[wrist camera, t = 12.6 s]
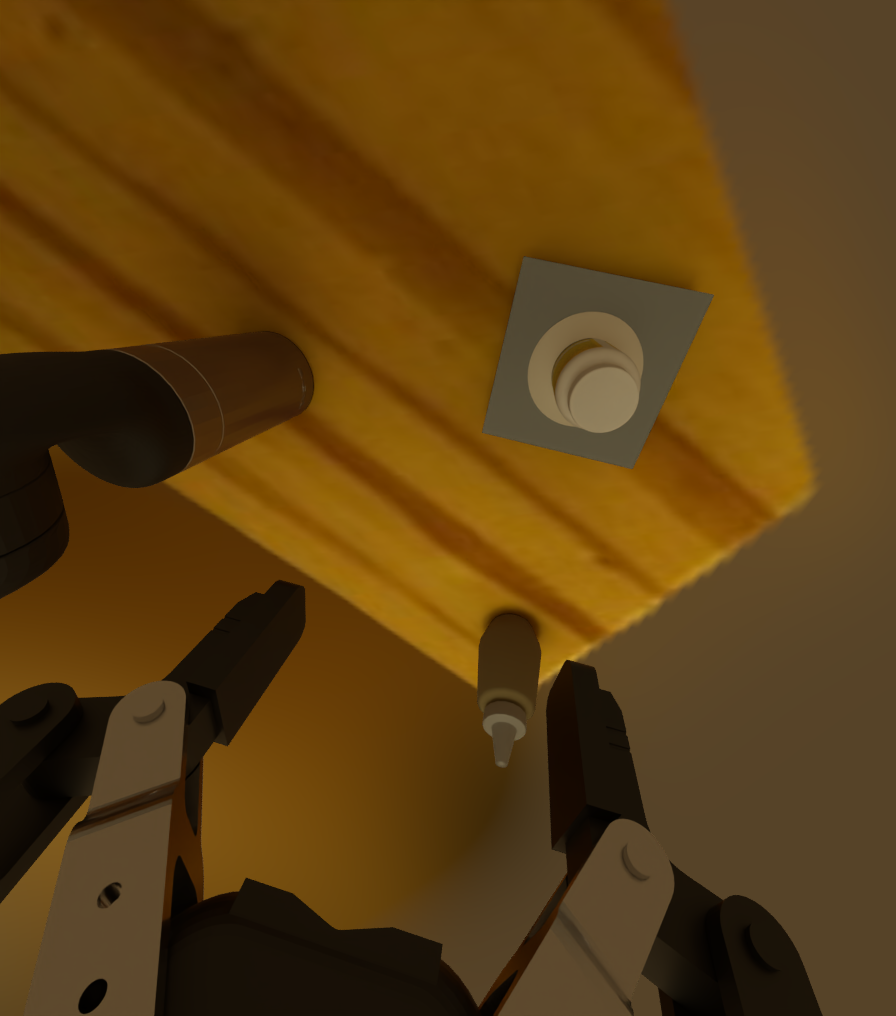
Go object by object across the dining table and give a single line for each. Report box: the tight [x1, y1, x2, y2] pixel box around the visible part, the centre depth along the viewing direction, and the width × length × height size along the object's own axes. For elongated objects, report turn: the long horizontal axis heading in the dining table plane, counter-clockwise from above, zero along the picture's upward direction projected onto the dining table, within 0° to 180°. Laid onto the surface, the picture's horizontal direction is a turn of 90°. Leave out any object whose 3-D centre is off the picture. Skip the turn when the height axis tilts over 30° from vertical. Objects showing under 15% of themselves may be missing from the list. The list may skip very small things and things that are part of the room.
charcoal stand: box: [482, 256, 714, 469], centre depth 34 cm, size 14×14×5 cm
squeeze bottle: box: [477, 614, 541, 767], centre depth 45 cm, size 8×8×18 cm
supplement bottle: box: [551, 338, 641, 433], centre depth 27 cm, size 5×5×10 cm
